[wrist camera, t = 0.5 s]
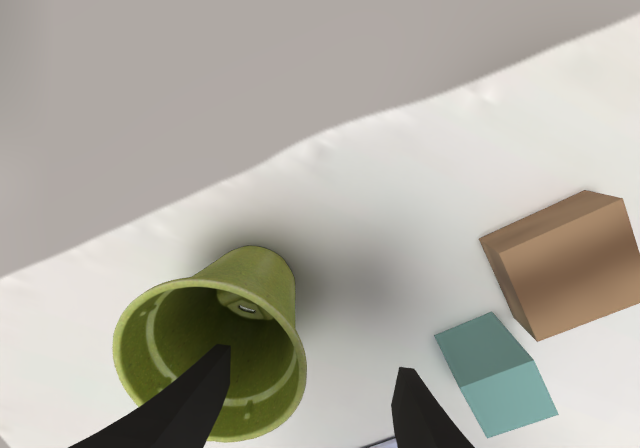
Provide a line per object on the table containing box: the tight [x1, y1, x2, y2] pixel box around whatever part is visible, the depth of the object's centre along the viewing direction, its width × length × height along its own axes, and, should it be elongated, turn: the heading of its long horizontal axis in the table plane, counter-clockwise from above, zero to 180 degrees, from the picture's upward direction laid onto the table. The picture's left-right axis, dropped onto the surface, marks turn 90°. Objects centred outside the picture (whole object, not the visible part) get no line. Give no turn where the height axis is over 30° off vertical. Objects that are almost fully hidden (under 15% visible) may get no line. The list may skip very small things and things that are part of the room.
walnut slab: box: [479, 190, 640, 342], centre depth 19 cm, size 7×7×3 cm
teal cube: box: [434, 312, 559, 438], centre depth 21 cm, size 4×4×5 cm
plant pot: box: [113, 246, 307, 443], centre depth 18 cm, size 9×9×9 cm
